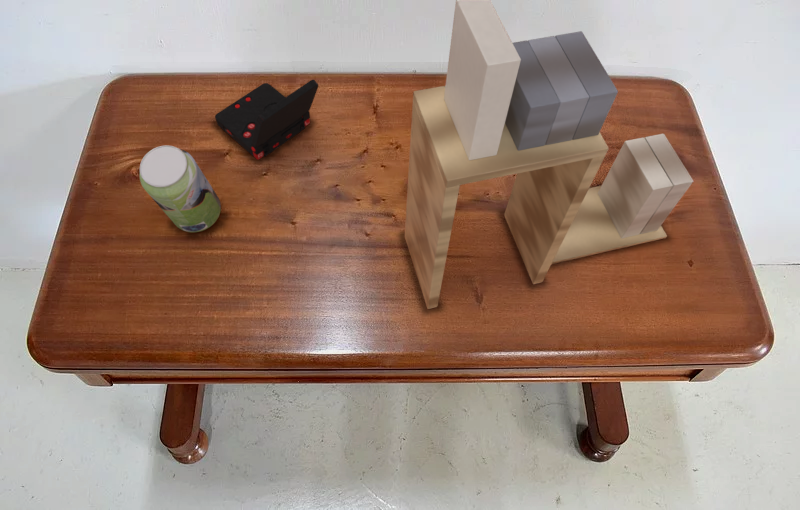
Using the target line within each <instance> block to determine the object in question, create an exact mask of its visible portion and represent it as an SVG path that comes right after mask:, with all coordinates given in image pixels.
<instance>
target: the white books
mask: <svg viewBox="0 0 800 510" xmlns="http://www.w3.org/2000/svg"><path fill="white" fill-rule="evenodd" d="M693 183H694V179H693V178H692V176H691V175H690V172H689V171H688V170H687V168H686V167H685V165H684V163H683V162H682V160H681V158H680V157H679V155H678V154H677V152H676V150H675V149H674V147H673V146H672V144H671V143H670V141H669V139H668V138H667V136H666V134H665V133H659V134H653V135H649V136H645V137H643V136H642V137H638V138H634V139H627V140H624V142H623V144H622V146H621V147H620V149H619V152H618V153H617V155H616V158H615V159H614V161H613V162H612V165H611V167H610V169H609V170H608V172H607V174H606V176H605V178H604V180H603V182H602V184H601V185H597V186H593V187H589V190H588V192H587V194H586V196H585V198H584V200H583V202H582V204H581V206H580V208H579V210H578V212H577V214H576V216H575V218H574V220H573V222H572V224H571V226H570V228H569V230H568V232H567V234H566V236H565V238H564V240H563V242H562V244H561V246H560V248H559V250H558V252H557V254H556V256H555V258H554V260H553V262H552V264H551V265H554V264H557V263H563V262H568V261H572V260H576V259H579V258H585V257H589V256H593V255H596V254H602V253H607V252H611V251H615V250H620V249H624V248H628V247H633V246H637V245H642V244H646V243H649V242H654V241H658V240H659V241H660V240H663V239H666V238H667V237H668V235H667V233H666V231H665V230H664V227H663V223H664V222H665V221H666V220H667V218H669V216H670V214H671V213H672V211H673V210H674V208H676V206H677V204H678V203H679V202H680V201H681V199H682V198H683V196H684V195H685V194H686V193H687V191H688V190H689V188H690V187H691V185H692V184H693Z"/></svg>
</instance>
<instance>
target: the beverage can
mask: <svg viewBox="0 0 800 510" xmlns="http://www.w3.org/2000/svg"><path fill="white" fill-rule="evenodd" d="M139 182H140V185H141V186H142V188H143V190H144V191H145V192H146V193H147V194H148V195H149V197H150V198H151V199H152V200H153V202H155V203H156V205H157V206H158V207H159V208H160V209H161V210H162V211H163V213H164V214H165V215H166V216H167V217H168V218H169V219H170V221H171V222H172V223H173V224H174V226H176V227H177V228H178V229H179V230H181V231H183V232H186V233H199V232H203V231H205V230H207V229H209V228H210V227H212V226H213V225H214V224H215V223H216V222H217V220H218V219H219V217H220V214H221V211H222V204H221V200H220V198H219V196H218V194H217V193H216V191H215V190H214V188H213V187H212V185H211V184H210V182H209V180H208V179H207V178H206V176H205V174H204V173H203V171H202V169H201V168H200V166H199V165H198V163H197V162H196V160H195V158H194V157H193V156H192V155H191V153H190V152H188V151H186V150H185V149H182V148H179V147H177V146H173V145H168V144H167V145H161V146H157V147H154V148H152V149H151V150H149V151H148V152H147V153H145V154H144V156H143V158H142V159H141V161H140V165H139Z"/></svg>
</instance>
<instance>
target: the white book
mask: <svg viewBox="0 0 800 510" xmlns="http://www.w3.org/2000/svg"><path fill="white" fill-rule="evenodd" d="M513 43H514V42H513V41H512V39H511V37H510V36H509V33H508V31H507V29H506V28H505V26H504V24H503V22H502V19H501V18H500V16H499V13H498V12H497V10H496V8H495V6H494V4H493V2H492V0H455V4H454V12H453V21H452V28H451V39H450V45H449V54H448V61H447V69H446V70H447V71H446V78H445V85H444V86H445V94H444V100H445V103H446V105H447V108H448V110H449V112H450V115H451V117H452V120H453V122H454V125H455V127H456V130H457V132H458V135H459V137H460V139H461V142H462V144H463V147H464V149H465V152H466V154H467V157H468V159H469V160H474V159H479V158H484V157H490V156H495V155H497V152H498V148H499V144H500V140H501V136H502V132H503V128H504V124H505V120H506V116H507V112H508V108H509V105H510V101H511V97H512V93H513V89H514V85H515V81H516V77H517V73H518V69H519V65H520V61H521V59H520V57H519V55H518V53H517V51H516V49H515V47H514V45H513Z"/></svg>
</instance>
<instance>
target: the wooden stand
mask: <svg viewBox="0 0 800 510" xmlns="http://www.w3.org/2000/svg"><path fill="white" fill-rule="evenodd" d="M512 43H513V45H514V47H515V49H516V51H517V53H518V55H519V57H520V59H521V61H520V65H519V69H518V73H517V77H516V81H515V85H514V89H513V93H512V97H511V101H510V105H509V108H508V112H507V116H506V120H505V124H504V128H503V132H502V136H501V140H500V144H499V148H498V152H497V155H495V156H490V157H484V158H479V159H474V160H469V159H468V157H467V154H466V152H465V149H464V147H463V144H462V142H461V139H460V137H459V135H458V132H457V130H456V127H455V125H454V122H453V120H452V117H451V115H450V112H449V110H448V108H447V105H446V103H445V100H444V94H445V86H446V85H441V86H436V87H430V88H424V89H418V90H414V91H413V94H412V105H411V106H412V107H411V108H412V109H411V123H410V124H411V125H410V143H409V155H408V156H409V157H408V158H409V159H408V174H407V189H406V190H407V191H406V193H407V194H406V207H405V224H404V225H405V226H404V240H405V243H406V246H407V249H408V252H409V255H410V258H411V261H412V265H413V268H414V271H415V274H416V277H417V280H418V284H419V287H420V290H421V293H422V296H423V300H424V302H425V303H424V304H425V306H426V309H427V310H430V309H433V308H437V307H438V306H439V300H440V295H441V289H442V284H443V279H444V273H445V269H446V263H447V258H448V252H449V247H450V242H451V235H452V230H453V226H454V225H453V224H454V219H455V215H456V214H455V213H456V210H457V203H458V197H459V192H460V187H461V186H463V185H468V184H472V183H479V182H483V181H487V180H488V181H489V180H492V179H498V178H503V177H508V176H512V175H515V178H514V182H513V185H512V189H511V192H510V195H509V198H508V201H507V205H506V208H505V210H504V214H503V215H504V219H505V221H506V223H507V226H508V228H509V230H510V233H511V235H512V238H513V240H514V242H515V245H516V247H517V251H518V252H519V255H520V258H521V259H522V261H523V263H524V266H525V269H526V271H527V274H528V276H529V278H530V280H531V283H532V285H536V284H540V283H544V279H545V278H546V277H547V274H548V271H549V270H550V268H551V266H552V265H553V264H552V262H553V260H554V258H555V256H556V254H557V252H558V250H559V248H560V246H561V244H562V242H563V240H564V238H565V236H566V234H567V232H568V230H569V228H570V226H571V224H572V222H573V220H574V218H575V216H576V214H577V212H578V210H579V208H580V206H581V204H582V202H583V200H584V198H585V196H586V194H587V192H588V190H589V188H591V185H592V183H593V182H594V180H595V177H596V176H597V173H598V171H599V169H600V168H601V165H602V163H603V162H604V160H605V157H606V155H607V153H608V151H609V146H608V145H607V142H606V141H605V139H604V137H603V135H602V133H601V131H602V128H603V125H604V124H605V121H606V119H607V116H608V115H609V112H610V110H611V109H612V106H613V104H614V102H615V99H616V98H617V95H618V92H619V90H618V89H617V87H616V85H615V84H614V82H613V80H612V79H611V77H610V75H609V74H608V72H607V70H606V69H605V67H604V65H603V64H602V62H601V61H600V59H599V57H598V56H597V54H596V52H595V51H594V48H593V46H591V44H590V42H589V41H588V39H587V38H586V36H585V34H584V32H583V31H582V30H580V31H574V32H567V33H562V34H557V35H550V36H544V37H538V38H532V39H528V40H520V41H515V42H512Z"/></svg>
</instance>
